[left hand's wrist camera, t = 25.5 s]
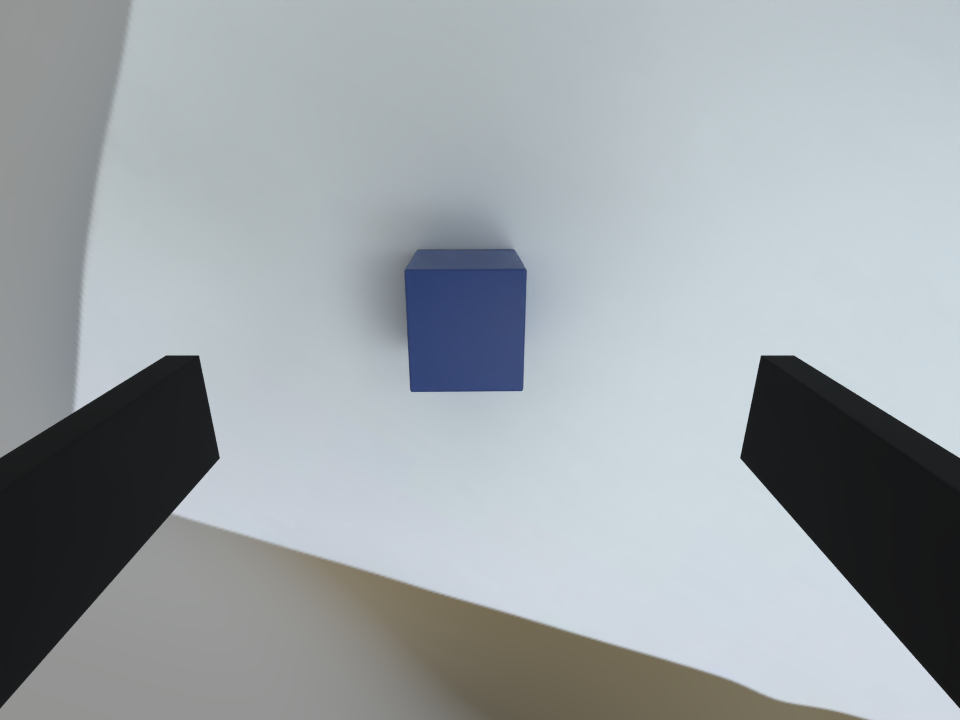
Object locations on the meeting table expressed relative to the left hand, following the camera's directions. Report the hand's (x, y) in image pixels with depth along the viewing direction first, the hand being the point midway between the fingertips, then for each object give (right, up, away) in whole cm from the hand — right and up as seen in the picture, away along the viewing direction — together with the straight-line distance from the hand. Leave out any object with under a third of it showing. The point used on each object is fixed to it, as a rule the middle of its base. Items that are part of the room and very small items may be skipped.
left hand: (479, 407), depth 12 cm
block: (-1, +4, +11) cm, 11 cm away
